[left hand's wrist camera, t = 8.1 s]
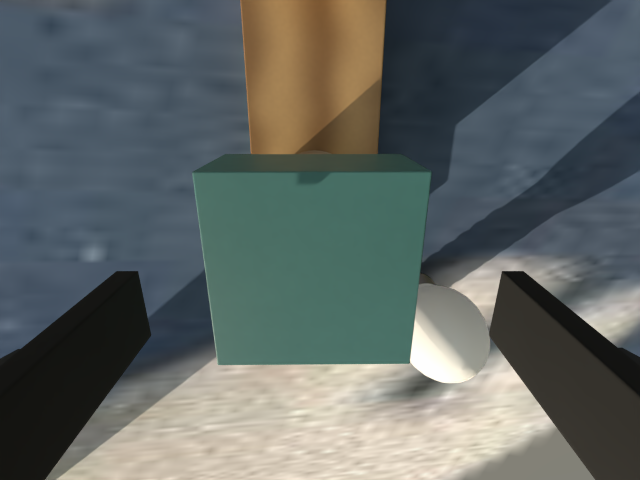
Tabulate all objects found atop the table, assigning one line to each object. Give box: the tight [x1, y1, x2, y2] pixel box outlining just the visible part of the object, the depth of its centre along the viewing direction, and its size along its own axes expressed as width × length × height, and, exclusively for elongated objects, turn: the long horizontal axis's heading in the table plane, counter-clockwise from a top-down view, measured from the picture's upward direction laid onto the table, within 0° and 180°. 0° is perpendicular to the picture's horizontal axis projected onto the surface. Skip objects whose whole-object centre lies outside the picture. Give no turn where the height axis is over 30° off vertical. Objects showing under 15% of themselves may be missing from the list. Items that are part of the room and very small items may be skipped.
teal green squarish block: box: [192, 154, 432, 365], centre depth 17 cm, size 9×9×5 cm
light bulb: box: [410, 273, 490, 383], centre depth 29 cm, size 7×7×11 cm
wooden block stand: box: [240, 0, 387, 154], centre depth 21 cm, size 10×26×14 cm, turn 0°
